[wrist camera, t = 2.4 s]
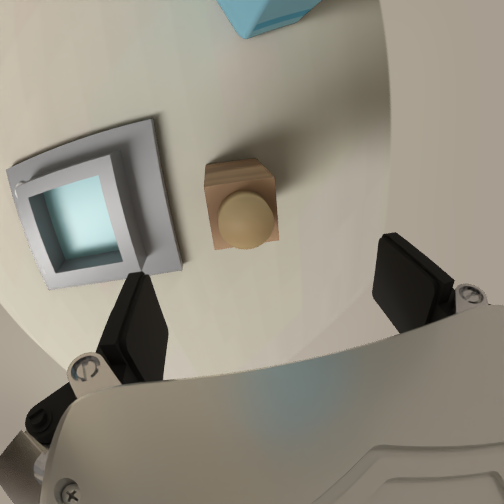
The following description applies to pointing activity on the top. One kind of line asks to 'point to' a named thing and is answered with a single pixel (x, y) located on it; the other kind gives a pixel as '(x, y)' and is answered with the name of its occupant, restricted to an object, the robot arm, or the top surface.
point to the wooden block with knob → (241, 204)
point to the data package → (264, 14)
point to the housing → (97, 208)
